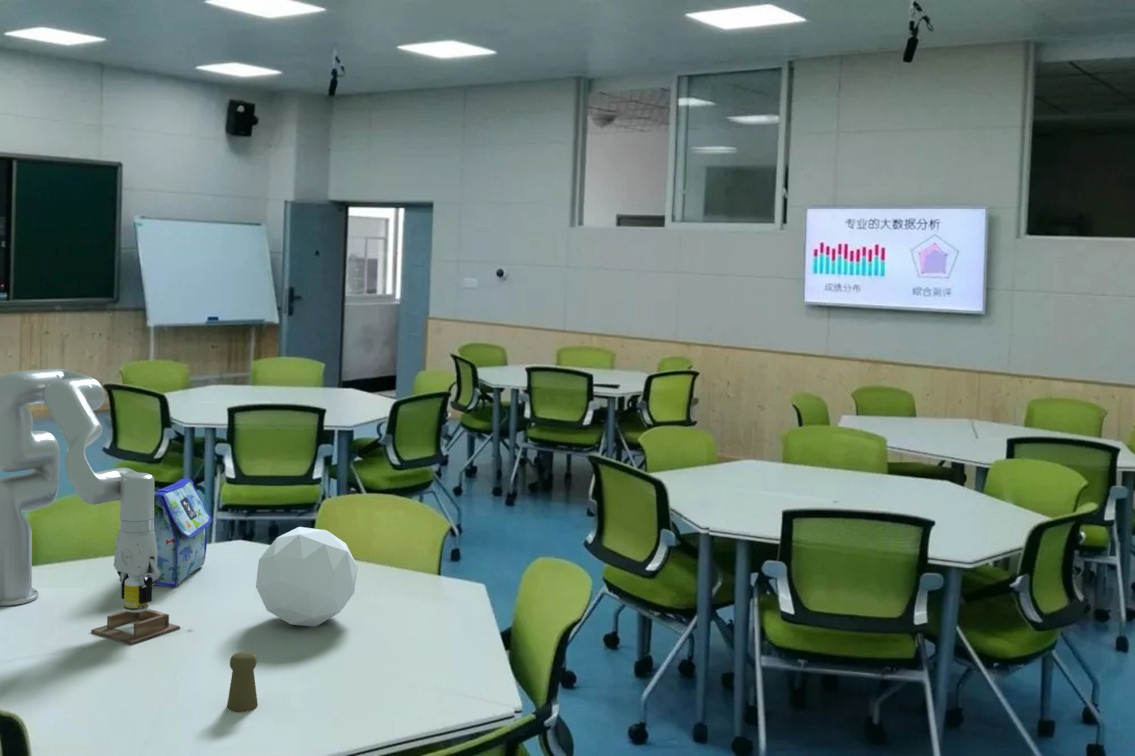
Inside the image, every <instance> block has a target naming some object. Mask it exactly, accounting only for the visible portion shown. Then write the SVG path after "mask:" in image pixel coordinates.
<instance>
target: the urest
mask: <svg viewBox="0 0 1135 756" xmlns="http://www.w3.org/2000/svg"><path fill="white" fill-rule="evenodd" d="M106 618H107V621H106V622H107V623H106V625H103V626H99V627H96V628H93V629H90V630H91V631H90V632H91V633H93V634H96V635H98V636H102V637H105V638H108V639H112V640H115V641H118V642H121V643H124V644H128V645H131V646H133V645H136V644H139V643H142V642H144V641H148V640H150V639H154V638H158V637H159V636H162V635H165V634H168V633H169V634H170V633H171V632H174V631H177V630H180V629H181V626H180V625H178V624H173V623H170V614H168V613H164V612H161V611H157V610H154V609H150V608H148V609H147V610H145V611H143V612H136V613H133V612H127V611H125V610H122V611H118V612H114V613H112V614H108V615H107V616H106Z"/></svg>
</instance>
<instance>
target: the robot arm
mask: <svg viewBox="0 0 1135 756" xmlns="http://www.w3.org/2000/svg"><path fill="white" fill-rule="evenodd" d="M105 397H106V395H105V391H104V388H103V386H102V385H101V384H100V382H99V380H96V379H95V378H93V377H91V376H89V375H86V374H82V373H78V372H75V371H71V370H68V369H64V368H47V369H46V368H45V369H28V370H27V369H26V370H20V371H19V370H18V371H14V372H13V371H12V372H9V373H5V374H2V375H1V376H0V471H1V472H3V473H13V472H14V473H16V472H21V471H28V470H29V472H27V473H23V474H14V475H9V476H4V477H0V607H1V606H3V607H4V606H6V607H7V606H16V605H17V606H18V605H21V604H26V603H30V602H32V601H34V600H37V598H39V591H38V590H37V589H36V588H33V587H32V586H33V585H32V584H33V583H32V580H33V578H32V577H33V566H32V564H33V563H32V562H33V561H32V559H33V558H32V555H33V552H32V551H33V549H32V547H33V546H32V545H33V544H32V543H33V540H32V538H33V535H32V527H31V525H30V523H29V521H28V520H27V518H26V517H25V515H24V513H25V512H26V513H27V512H28V511H34V510H39V509H43V508H46V507H49V506H51V505H52V504H54V502H55V501H56V499H57V497H58V492H59V481H60V479H59V478H60V466H61V465H60V462H61V460H60V459H61V450H60V446H59V442H58V440H57V438H56V437H55V436H54V434H52V433H51V432H49V431H46V430H34V431H33V425H34V424H33V423H34V422H33V421H34V418H33V415H32V412H31V411H30V409H29V407H28V406H29V405H39V404H41V405H42V404H45V406H46V408H47V409H48V411H49V412H50V414H51V416H52V417H53V420H54V421H55V423H56V425H57V427H58V428H59V430H60V432H61V433H62V435H63V437H64V438H65V440H66V443H67V449H66V452H65V459H64V460H65V461H64V462H65V465H64V467H65V473H66V477H67V478H68V482H70V485H72V488H73V490H74V491H75V493H76V494H77V496H78V497H79V498H80V499H81V500H82V501H83V502H84V503H86V504H88V505H92V506H93V505H95V506H97V505H102V504H105V503H109V502H113V501H119V529H118V531H117V534H116V539H115V547H114V558H113V559H114V561H113V566H114V569H115V570H116V572H117V574H118V576H119V581H120V583H121V587H120V588H121V597H120V598H121V599H122V600H124V587H125V580H126V579H127V578H129V576H128V574H130V575H134V576H139V577H140V582H141V586H142V587H140V588H139V603H140V604H144V603H147V602H148V603H151V602H152V600H153V586H154V582H155V581H156V580H157V579H158V578H159V577H160V576H161V573H160V571H159V569H158V567H157V544H156V537H155V532H154V494H155V477H154V475H152V474H150V473H147V472H138V471H135V470H133V469H132V468H128V467H118V468H117V467H116V468H112V469H111V468H110V469H106V470H104V469H103V470H100V471H94V470H93V469H92V467H91V465H90V463H89V461H88V459H87V456H86V449H87V447H88V446H90V445H92V444H93V443H94V442H96V441H97V440H98V439H99V438H100V437H101V435H102V433H103V431H104V430H103V429H104V428H103V425H102V424H101V421H100V420H99V418H98V417H97V416H96V415H97V414H95V412H94V411H96V410H98V409H99V408H101V407H102V406H103V404H104V402H105ZM146 572H147V573H146ZM145 576H147V577H148V579H147V580H145Z"/></svg>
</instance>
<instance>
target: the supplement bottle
mask: <svg viewBox="0 0 1135 756" xmlns="http://www.w3.org/2000/svg"><path fill="white" fill-rule="evenodd" d="M128 576H129V578H127V579H126V580H125V587H124V599H123V600H124V601H123V609H124V610H123V611H127V612H133V613H136V612H143V611H145V610H147V609H149V602H147V603H144V604H140V603H139V588H140V587H142V586H141V582H140V577H139V576H134V575H130V574H128ZM147 579H148V578H147V577H145V580H147Z"/></svg>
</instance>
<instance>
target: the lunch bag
mask: <svg viewBox="0 0 1135 756" xmlns="http://www.w3.org/2000/svg"><path fill="white" fill-rule="evenodd" d="M212 521H213V520H212V516H211V513H210V511H209V509H208V508H207V507H206V505H205V503H204V502H203V500H202V499H201V497H200V495H199V493H198V491H197V489H196V487H195V484H194V481H192V479H190V477H185V478H182V479H179V480H177V481H175V483H172V484H170V485H167V486H165V487H163V488H160V489H158V490H157V491H156V492H154V532H155V537H156V544H157V567H158V569H159V571H160V573H161V576H160V577H159V578H158V579H157V580H156V581H155V582H154V585H155V586H162V587H165V588H166V587H167V588H170V589H174V588H176V587H178V586H179V585H180V584H181V582H183V580H185V579H186V578H187V577H189V576H190V575H191V574H192V573H193V572H194V571H196V570H198V569H200V568H202V567H203V566H204V564H205V561H206V553H207V546H208V544H207V543H208V533H207V532H208V530H207V528H208V526H210V524H212ZM146 573H147V572H146ZM145 577H147V576H145ZM147 578H148V577H147ZM154 585H153V586H154Z"/></svg>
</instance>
